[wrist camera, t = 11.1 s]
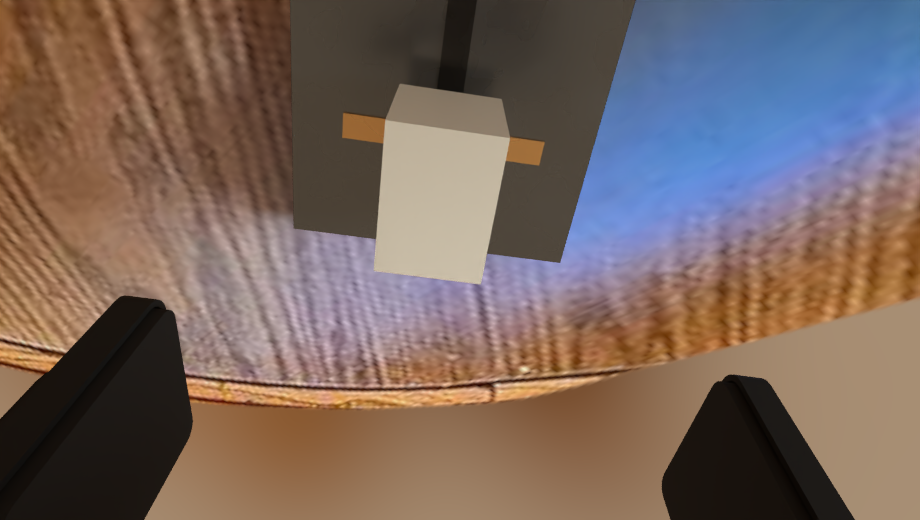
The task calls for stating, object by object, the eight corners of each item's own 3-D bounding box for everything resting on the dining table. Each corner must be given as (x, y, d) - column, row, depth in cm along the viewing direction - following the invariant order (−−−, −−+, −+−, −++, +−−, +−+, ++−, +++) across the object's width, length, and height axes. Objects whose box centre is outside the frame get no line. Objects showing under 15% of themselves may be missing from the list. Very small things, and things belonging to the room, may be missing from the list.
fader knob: (404, 72, 20) (385, 120, 15) (499, 87, 20) (510, 138, 15) (393, 196, 22) (373, 270, 18) (477, 208, 23) (480, 284, 18)
